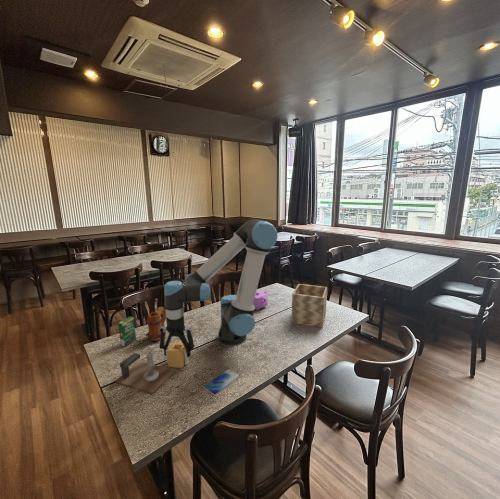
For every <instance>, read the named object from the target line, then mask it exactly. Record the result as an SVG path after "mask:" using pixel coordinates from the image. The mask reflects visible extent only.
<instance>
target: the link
mask: <svg viewBox="0 0 500 499" xmlns="http://www.w3.org/2000/svg"><path fill="white" fill-rule="evenodd" d="M169 346H170V348H169V349H168V367H170V368H181V369H183V368H184V366H185V350H186V349H185V347H184V345H183V343H182V342H172V343H171V345H169Z"/></svg>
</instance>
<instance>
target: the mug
mask: <svg viewBox="0 0 500 499" xmlns="http://www.w3.org/2000/svg"><path fill="white" fill-rule="evenodd" d="M165 322H166V308H164V306H159V307H158V308H157V309H156V311H151V312H150V313H148V314H147V319H146V320H145V324H147V326H148V332H147V333H146V334H145V335H146V337H148V338H149V341H151V342H156V341H160V338H161V332H160V329H161V328H162V327H163V326H164V327H165Z"/></svg>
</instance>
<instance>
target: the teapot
mask: <svg viewBox="0 0 500 499" xmlns="http://www.w3.org/2000/svg"><path fill="white" fill-rule="evenodd" d="M268 291H269V290H268V289H266V290H264V292H263V291H259V290H256V294H255V298H254V302H253V305H254V306H255V311H260V309H265V307H266V306H268V301H269V300H268V299H269V298H268V296H269V294H268V293H267V292H268Z"/></svg>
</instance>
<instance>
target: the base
mask: <svg viewBox="0 0 500 499" xmlns="http://www.w3.org/2000/svg"><path fill="white" fill-rule="evenodd" d="M140 358H141V354H140V353H136V352H134V353H132V354H131V355H130V356H128V357H127V358H125V359H124V360H122V361H121V362H120V363H119V368H120V371H121V372H120V373H121V375H120V376H119V377H118V378H116V379H115V380H114V382H115V383H117V384H120V385H123V386H126V387H129V388H133V389H135V390H139V391H141V392H145V393H148V394H151V395H153V394H155V392H156V391H157V390H159V389H160V387H161V386H163V385H164V384H165V382H166V381H168V380H169V378H171V377H172V375H174V373H176V371H175V369H171V368H168V367H164V366H160V365H156V364H154V359H153V353H152V352H148V353H147V354H146V361H147V362H146V361H145V362H144V361H141V360H139V359H140ZM138 360H139V361H138ZM137 361H138V362H137ZM135 362H137V363H135ZM134 363H135V364H134ZM133 364H134V365H133ZM131 365H133V366H131ZM130 366H131V368H130Z"/></svg>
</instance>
